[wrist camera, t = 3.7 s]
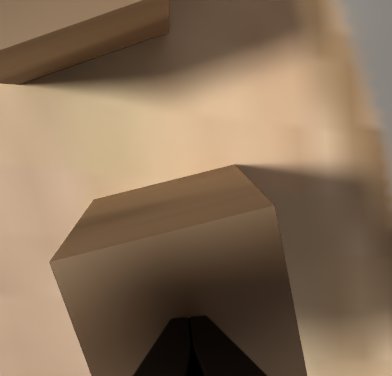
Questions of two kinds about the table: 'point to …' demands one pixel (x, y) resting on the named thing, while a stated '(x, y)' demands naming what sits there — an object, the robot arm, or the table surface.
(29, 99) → the table surface
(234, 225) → the plain block
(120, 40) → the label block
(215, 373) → the robot arm
